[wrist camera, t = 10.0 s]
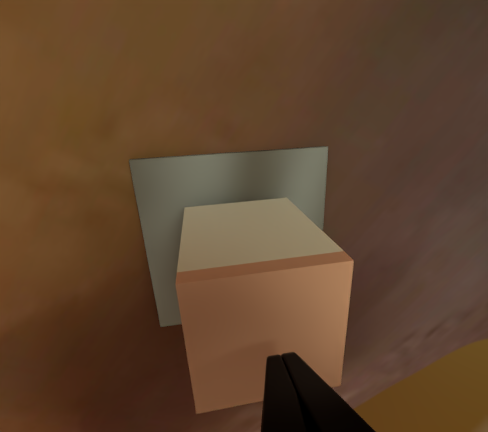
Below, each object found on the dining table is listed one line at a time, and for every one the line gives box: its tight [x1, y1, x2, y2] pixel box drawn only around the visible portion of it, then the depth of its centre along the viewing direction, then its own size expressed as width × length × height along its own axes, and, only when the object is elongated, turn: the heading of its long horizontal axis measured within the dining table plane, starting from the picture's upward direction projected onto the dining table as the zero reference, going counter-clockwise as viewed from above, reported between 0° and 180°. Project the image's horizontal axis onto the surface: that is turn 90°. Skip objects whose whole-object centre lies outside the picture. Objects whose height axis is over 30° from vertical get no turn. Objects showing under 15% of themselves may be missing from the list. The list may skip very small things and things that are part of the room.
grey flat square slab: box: [129, 146, 328, 327], centre depth 13 cm, size 10×10×7 cm
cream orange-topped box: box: [175, 198, 354, 414], centre depth 12 cm, size 5×5×7 cm
